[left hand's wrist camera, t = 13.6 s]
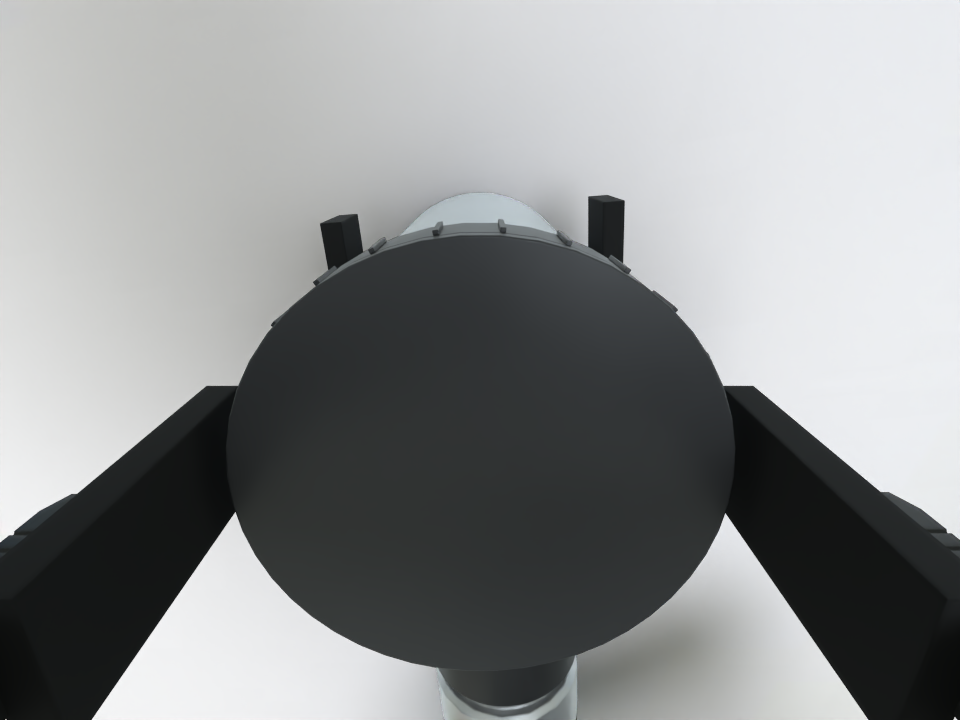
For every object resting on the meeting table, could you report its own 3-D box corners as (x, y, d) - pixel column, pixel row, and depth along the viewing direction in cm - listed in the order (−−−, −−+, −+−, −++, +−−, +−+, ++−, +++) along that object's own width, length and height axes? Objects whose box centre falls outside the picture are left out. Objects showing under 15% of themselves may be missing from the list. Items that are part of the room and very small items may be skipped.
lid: (173, 463, 13) (125, 511, 11) (453, 99, 10) (447, 87, 8) (497, 668, 15) (499, 734, 13) (795, 425, 12) (846, 469, 11)
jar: (354, 294, 27) (173, 496, 11) (470, 149, 25) (454, 141, 9) (488, 401, 30) (498, 697, 14) (608, 277, 27) (797, 460, 11)
